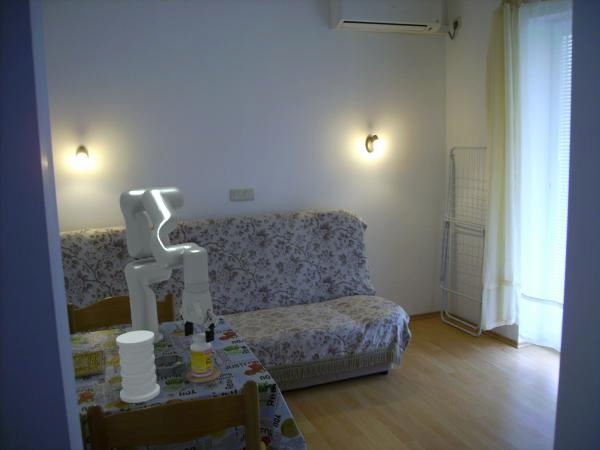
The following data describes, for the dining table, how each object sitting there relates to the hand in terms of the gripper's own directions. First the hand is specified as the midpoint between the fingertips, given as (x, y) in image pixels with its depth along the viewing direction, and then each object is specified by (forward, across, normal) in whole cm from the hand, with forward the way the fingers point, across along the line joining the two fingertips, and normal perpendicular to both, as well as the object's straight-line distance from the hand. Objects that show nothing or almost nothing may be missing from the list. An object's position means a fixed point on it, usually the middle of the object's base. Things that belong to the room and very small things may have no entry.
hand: (199, 338), depth 172 cm
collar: (+13, -14, -2) cm, 19 cm away
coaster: (+12, +1, 0) cm, 12 cm away
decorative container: (+13, -6, -20) cm, 24 cm away
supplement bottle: (+12, +1, 0) cm, 12 cm away
